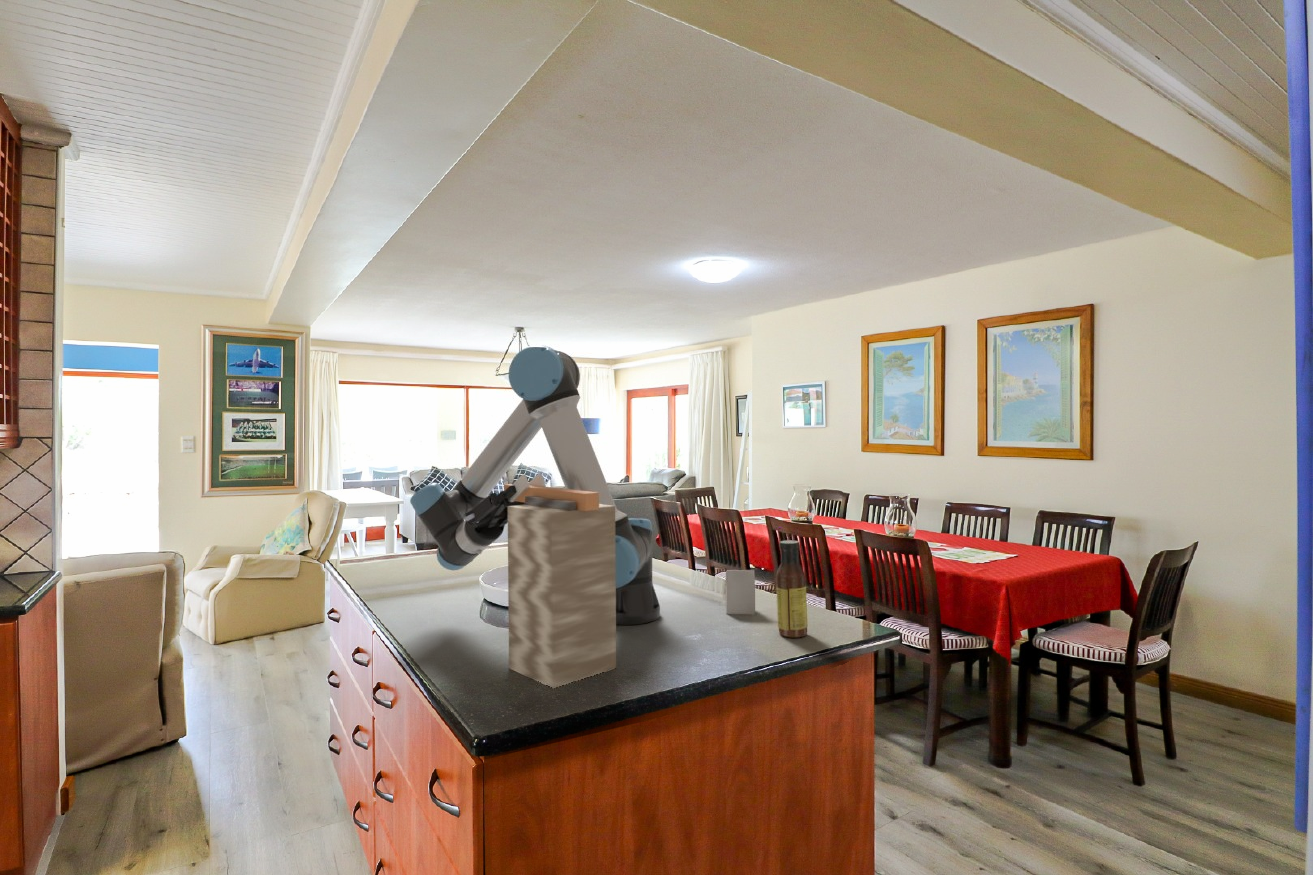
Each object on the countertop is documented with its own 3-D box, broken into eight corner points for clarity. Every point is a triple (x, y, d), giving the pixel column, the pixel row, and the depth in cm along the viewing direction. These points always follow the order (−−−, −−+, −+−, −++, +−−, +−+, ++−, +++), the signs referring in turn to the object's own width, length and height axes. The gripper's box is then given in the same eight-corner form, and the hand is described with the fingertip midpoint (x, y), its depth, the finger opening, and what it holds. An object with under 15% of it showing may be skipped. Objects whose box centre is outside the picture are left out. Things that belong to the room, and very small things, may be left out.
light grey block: (755, 614, 164) (755, 572, 164) (726, 613, 164) (726, 571, 164) (753, 609, 168) (753, 568, 168) (725, 609, 168) (725, 568, 168)
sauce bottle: (810, 632, 149) (810, 540, 149) (803, 640, 144) (803, 544, 143) (780, 628, 152) (780, 538, 152) (772, 636, 147) (772, 542, 146)
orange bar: (504, 499, 139) (504, 484, 139) (517, 498, 141) (517, 483, 141) (585, 510, 120) (585, 493, 120) (598, 509, 122) (598, 492, 122)
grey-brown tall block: (509, 668, 128) (507, 498, 128) (570, 650, 138) (568, 492, 137) (553, 688, 118) (552, 504, 118) (616, 668, 128) (615, 497, 127)
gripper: (517, 541, 153) (573, 494, 138) (450, 551, 142) (503, 501, 127) (508, 510, 155) (562, 461, 141) (441, 517, 144) (491, 464, 129)
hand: (534, 480), depth 134 cm, fingers closed on orange bar, 3 cm apart
